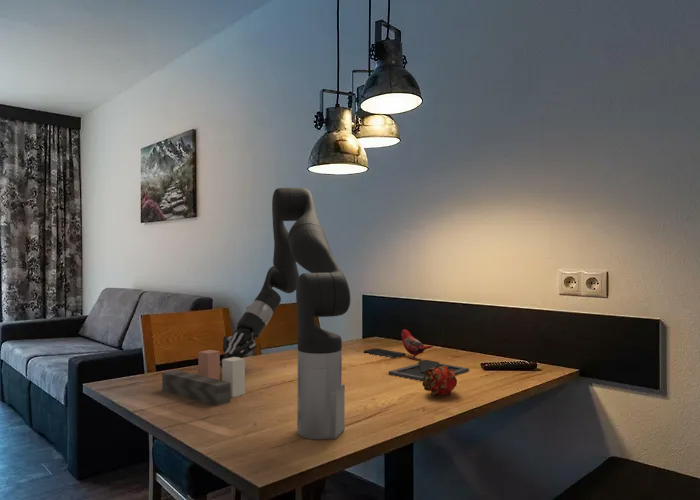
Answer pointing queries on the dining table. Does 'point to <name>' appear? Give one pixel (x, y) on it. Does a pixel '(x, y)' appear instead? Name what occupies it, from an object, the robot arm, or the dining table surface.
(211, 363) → the brick key
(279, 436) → the dining table surface
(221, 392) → the switch board
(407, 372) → the picture frame
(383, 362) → the dining table surface
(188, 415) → the dining table surface
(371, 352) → the phone
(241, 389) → the cream key
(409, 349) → the decorative bird figurine
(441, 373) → the dragon fruit
